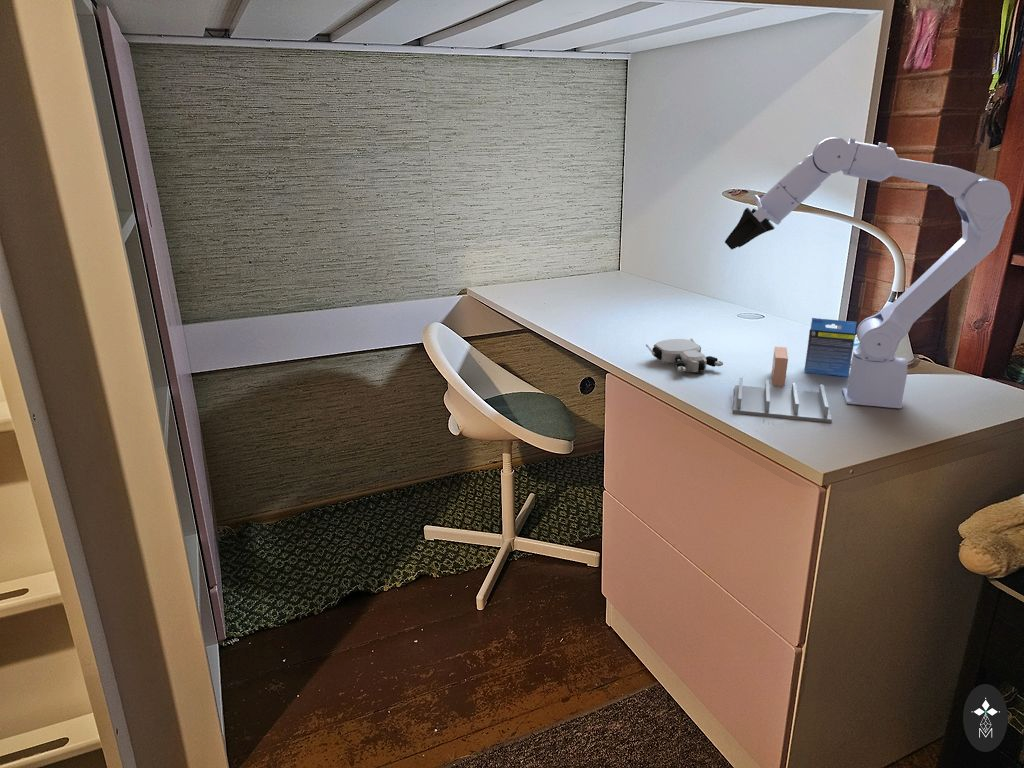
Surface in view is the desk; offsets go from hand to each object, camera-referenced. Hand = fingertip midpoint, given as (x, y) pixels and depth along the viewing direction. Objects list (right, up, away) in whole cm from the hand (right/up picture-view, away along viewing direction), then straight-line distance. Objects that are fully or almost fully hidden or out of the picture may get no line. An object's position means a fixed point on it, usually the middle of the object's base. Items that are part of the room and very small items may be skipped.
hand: (732, 244), depth 134 cm
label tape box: (+25, -25, +15) cm, 39 cm away
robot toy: (-4, -23, +22) cm, 32 cm away
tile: (+14, -26, +12) cm, 32 cm away
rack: (+9, -31, -1) cm, 32 cm away
